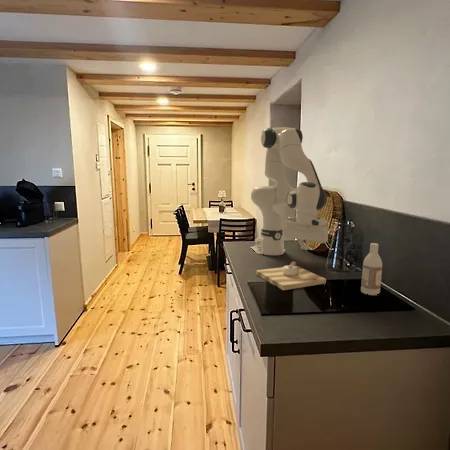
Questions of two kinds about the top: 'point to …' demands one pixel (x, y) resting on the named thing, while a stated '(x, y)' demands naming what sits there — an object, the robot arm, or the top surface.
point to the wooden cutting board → (290, 278)
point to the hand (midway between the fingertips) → (304, 249)
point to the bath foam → (372, 272)
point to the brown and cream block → (290, 269)
